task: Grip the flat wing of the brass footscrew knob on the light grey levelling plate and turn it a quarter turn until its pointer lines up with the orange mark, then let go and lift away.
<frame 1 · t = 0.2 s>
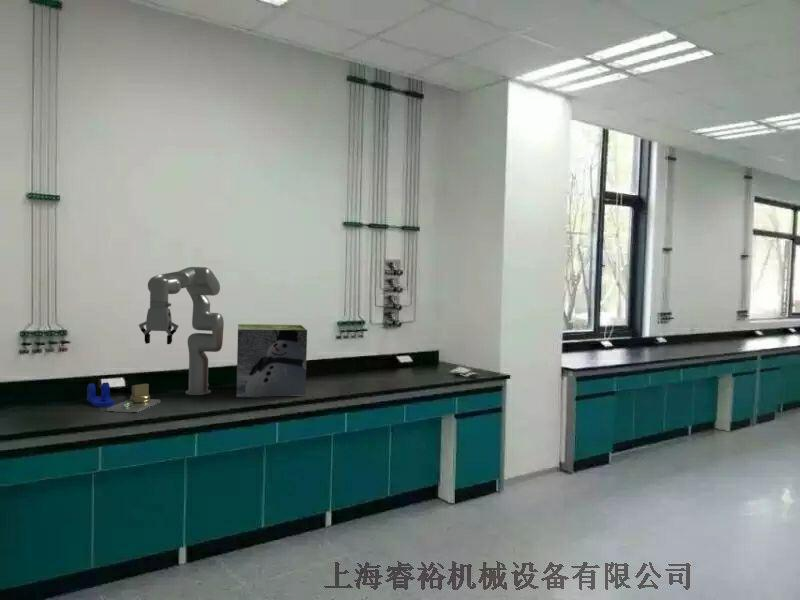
hand: (158, 343, 265), 31 cm above the table, tool pointing down, fingers open, 9 cm apart
photo cube: (269, 391, 324), on the table
bracket: (101, 404, 280), on the table
levelling plate: (134, 406, 275), on the table
footscrew knob: (138, 393, 279), point 6 cm above the table, hinge at 0.0°
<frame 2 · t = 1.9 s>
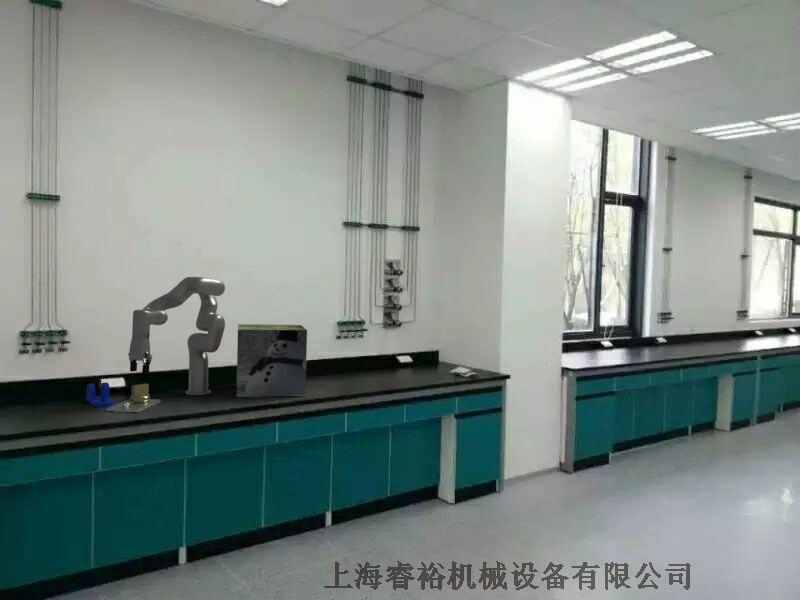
hand: (139, 372, 279), 15 cm above the table, tool pointing down, fingers open, 9 cm apart
nothing on the table moved.
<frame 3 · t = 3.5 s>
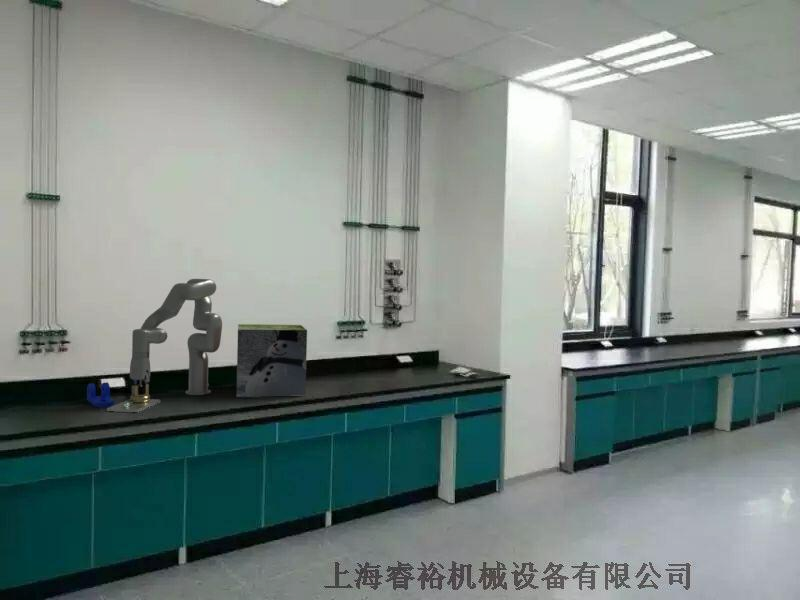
hand: (140, 393, 279), 5 cm above the table, tool pointing down, fingers closed on footscrew knob, 2 cm apart
footscrew knob: (138, 393, 279), point 6 cm above the table, hinge at 0.0°, touching gripper
everything else where it was.
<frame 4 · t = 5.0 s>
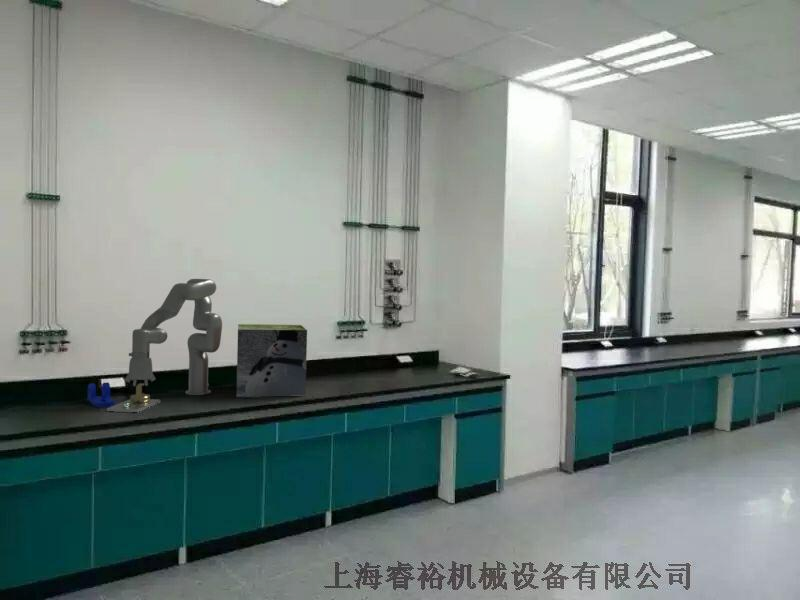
hand: (140, 393, 279), 5 cm above the table, tool pointing down, fingers closed on footscrew knob, 3 cm apart
footscrew knob: (139, 393, 278), point 6 cm above the table, hinge at 47.2°, touching gripper
everything else where it was.
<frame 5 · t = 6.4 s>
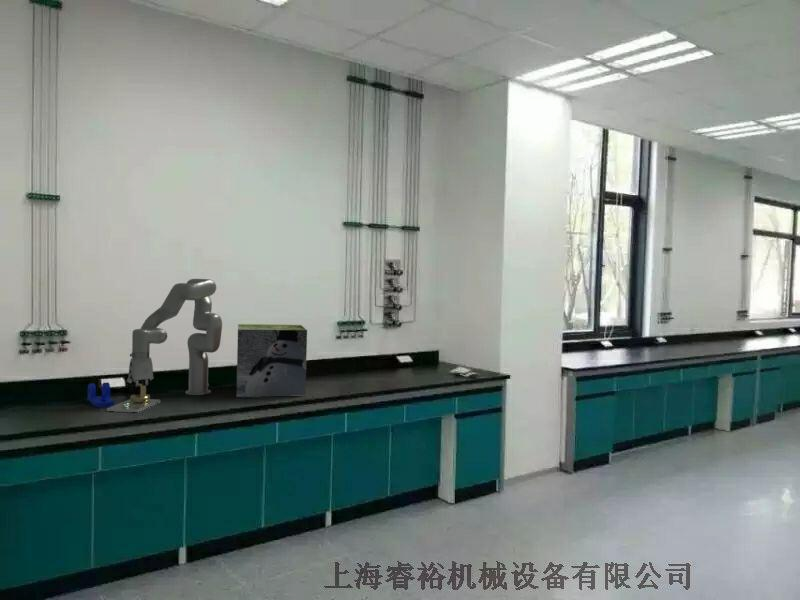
hand: (140, 393, 279), 5 cm above the table, tool pointing down, fingers closed on footscrew knob, 3 cm apart
footscrew knob: (141, 393, 279), point 6 cm above the table, hinge at 77.8°, touching gripper
everything else where it was.
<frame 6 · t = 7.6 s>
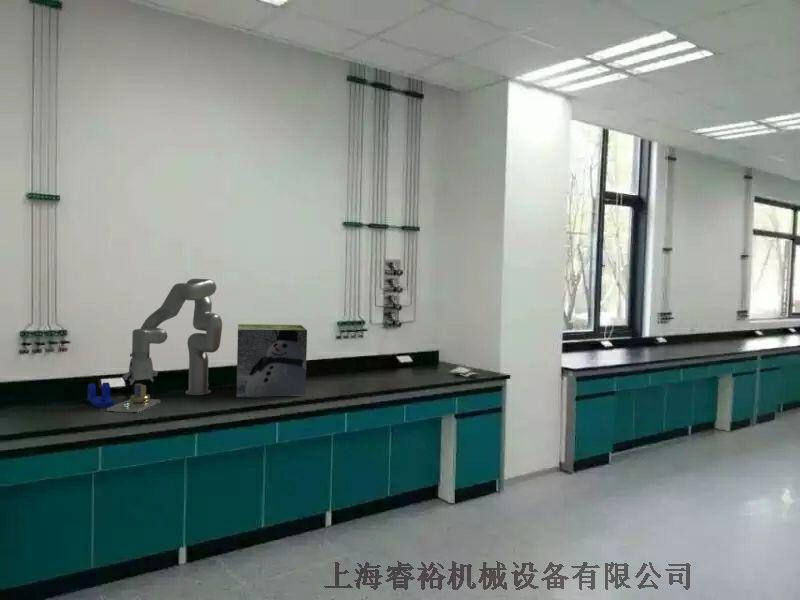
hand: (140, 391, 279), 6 cm above the table, tool pointing down, fingers open, 9 cm apart
footscrew knob: (141, 393, 279), point 6 cm above the table, hinge at 78.3°
everything else where it was.
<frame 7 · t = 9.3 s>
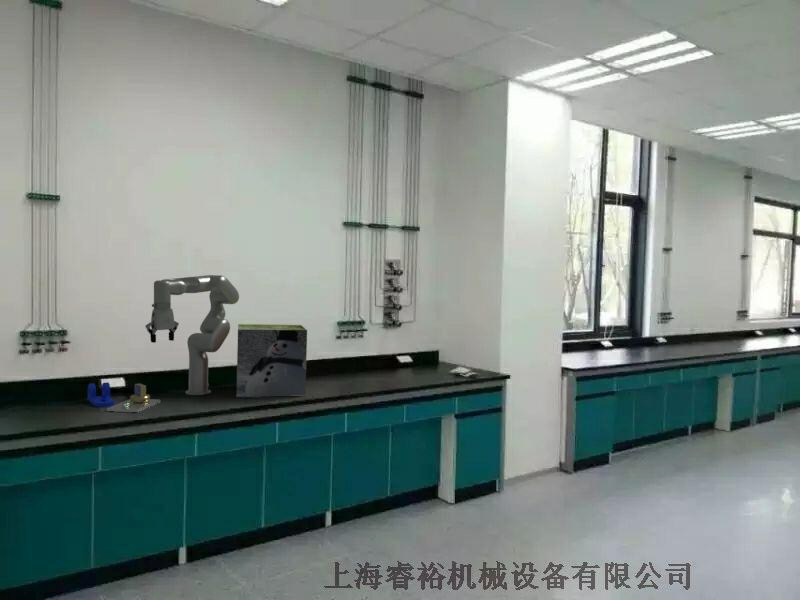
hand: (162, 341, 286), 29 cm above the table, tool pointing down, fingers open, 9 cm apart
nothing on the table moved.
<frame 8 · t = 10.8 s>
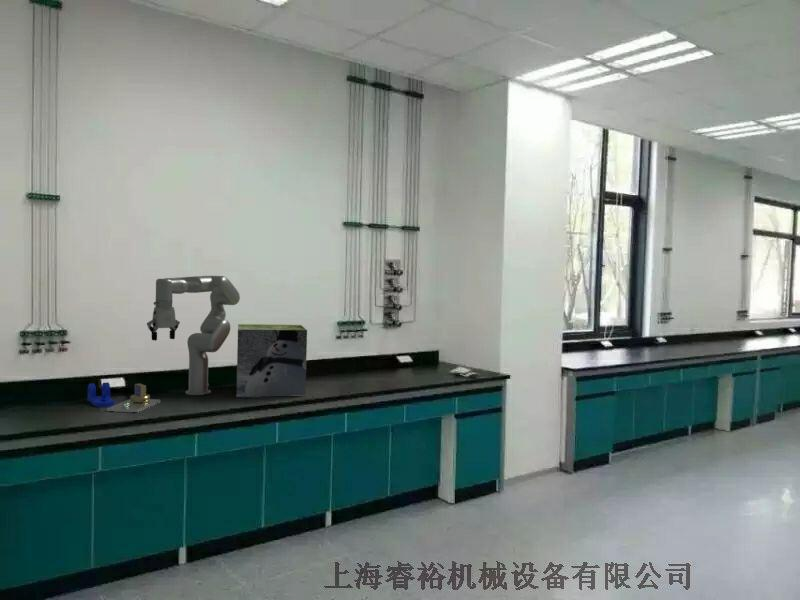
hand: (163, 339, 286), 30 cm above the table, tool pointing down, fingers open, 9 cm apart
nothing on the table moved.
at the end: footscrew knob at +78° (first picture: +0°); the gripper is holding nothing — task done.
